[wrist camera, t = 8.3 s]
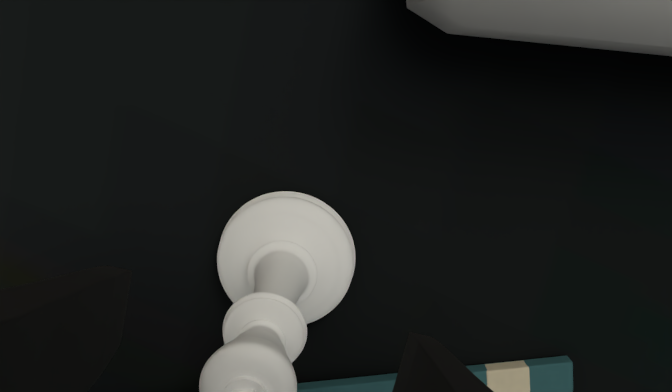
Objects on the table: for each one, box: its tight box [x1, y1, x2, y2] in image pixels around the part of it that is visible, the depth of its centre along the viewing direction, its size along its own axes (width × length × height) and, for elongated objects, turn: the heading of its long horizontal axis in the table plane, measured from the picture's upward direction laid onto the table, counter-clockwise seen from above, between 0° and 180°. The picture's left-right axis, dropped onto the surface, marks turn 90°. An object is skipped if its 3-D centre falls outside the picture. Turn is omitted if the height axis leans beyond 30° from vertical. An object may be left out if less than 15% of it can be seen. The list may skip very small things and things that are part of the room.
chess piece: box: [199, 191, 355, 392], centre depth 13 cm, size 5×5×10 cm
